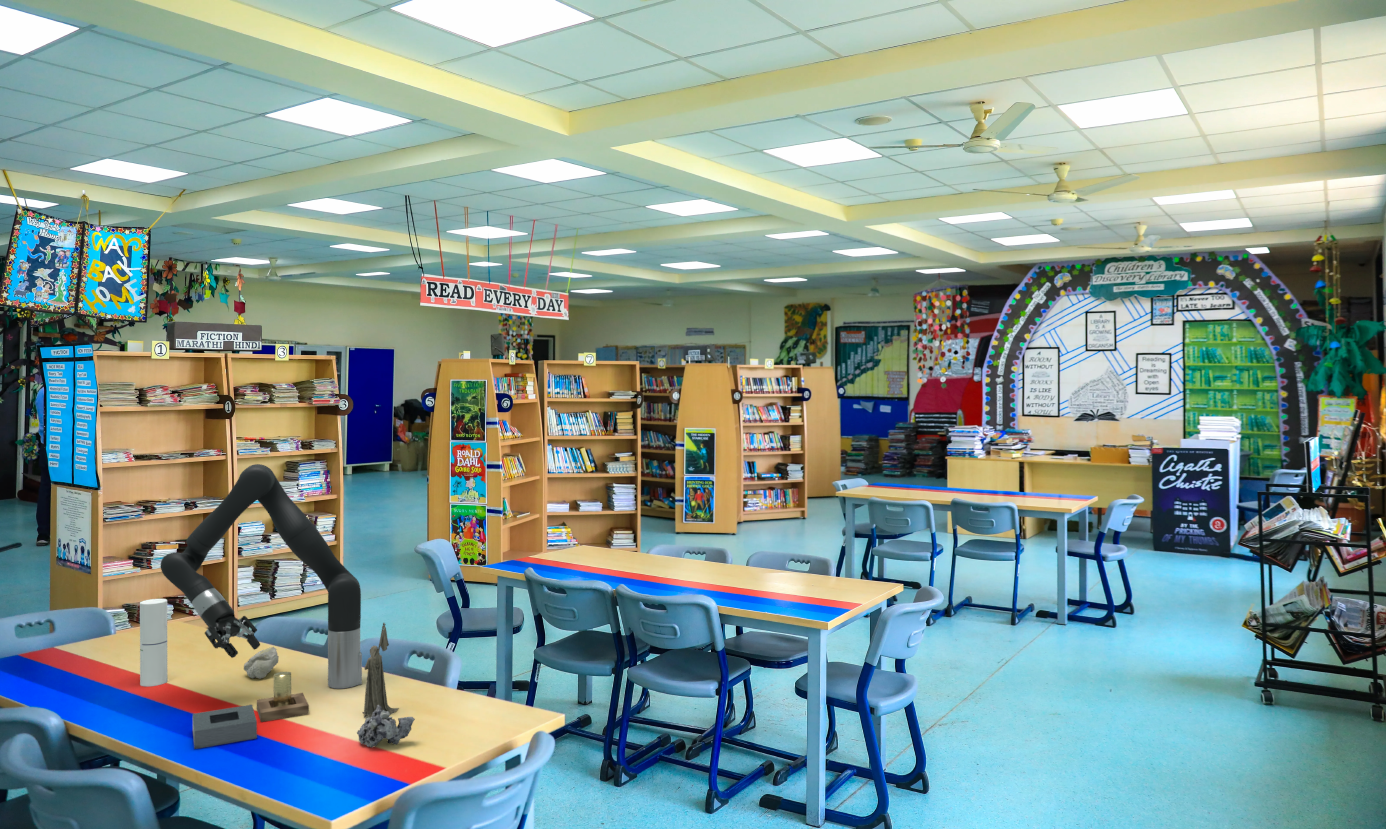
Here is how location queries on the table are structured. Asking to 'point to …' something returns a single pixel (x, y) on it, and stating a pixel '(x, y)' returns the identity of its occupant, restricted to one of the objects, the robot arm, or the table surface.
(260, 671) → the fossil replica
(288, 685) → the brass peg
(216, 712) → the charcoal block
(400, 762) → the table surface
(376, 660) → the wizard figurine
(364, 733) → the mineral specimen
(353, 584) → the robot arm
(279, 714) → the walnut stand
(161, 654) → the cylindrical container
